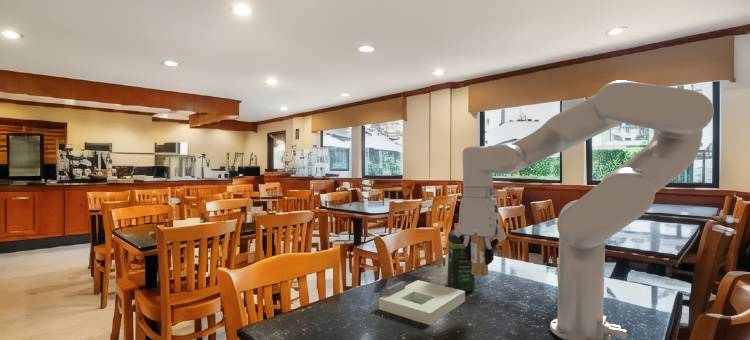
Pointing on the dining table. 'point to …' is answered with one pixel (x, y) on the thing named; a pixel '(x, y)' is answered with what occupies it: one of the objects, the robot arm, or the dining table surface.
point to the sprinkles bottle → (478, 255)
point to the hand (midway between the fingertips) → (479, 261)
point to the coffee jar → (459, 265)
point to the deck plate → (421, 301)
